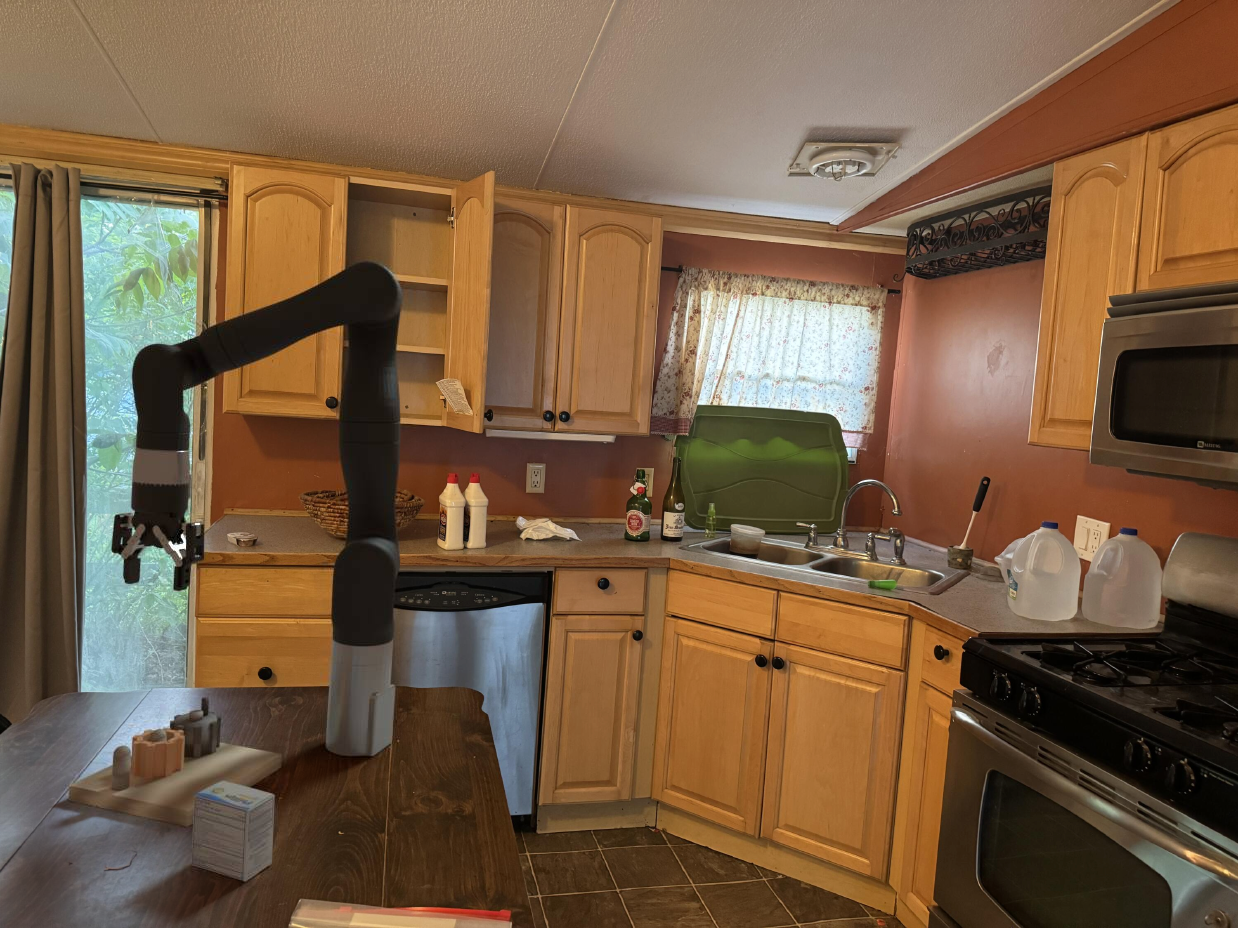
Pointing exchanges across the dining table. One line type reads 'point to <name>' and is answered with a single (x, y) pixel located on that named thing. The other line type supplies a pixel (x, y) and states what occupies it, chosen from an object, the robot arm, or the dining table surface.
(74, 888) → the dining table surface
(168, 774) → the loose gear
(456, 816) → the dining table surface
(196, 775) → the gear board
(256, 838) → the medicine box
